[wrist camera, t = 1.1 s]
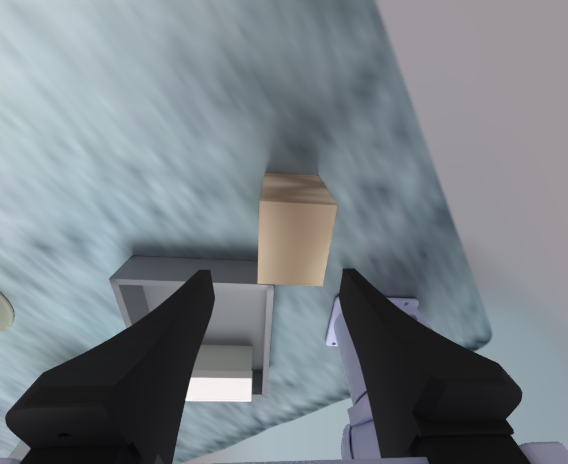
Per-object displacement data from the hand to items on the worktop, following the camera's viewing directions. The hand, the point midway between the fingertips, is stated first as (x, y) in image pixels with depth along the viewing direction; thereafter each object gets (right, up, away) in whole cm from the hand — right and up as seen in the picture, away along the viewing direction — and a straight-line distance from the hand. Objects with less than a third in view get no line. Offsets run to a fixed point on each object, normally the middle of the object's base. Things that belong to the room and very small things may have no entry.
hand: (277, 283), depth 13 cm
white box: (-9, -13, +16) cm, 23 cm away
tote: (-8, -8, +14) cm, 18 cm away
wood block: (+1, +5, +8) cm, 10 cm away
